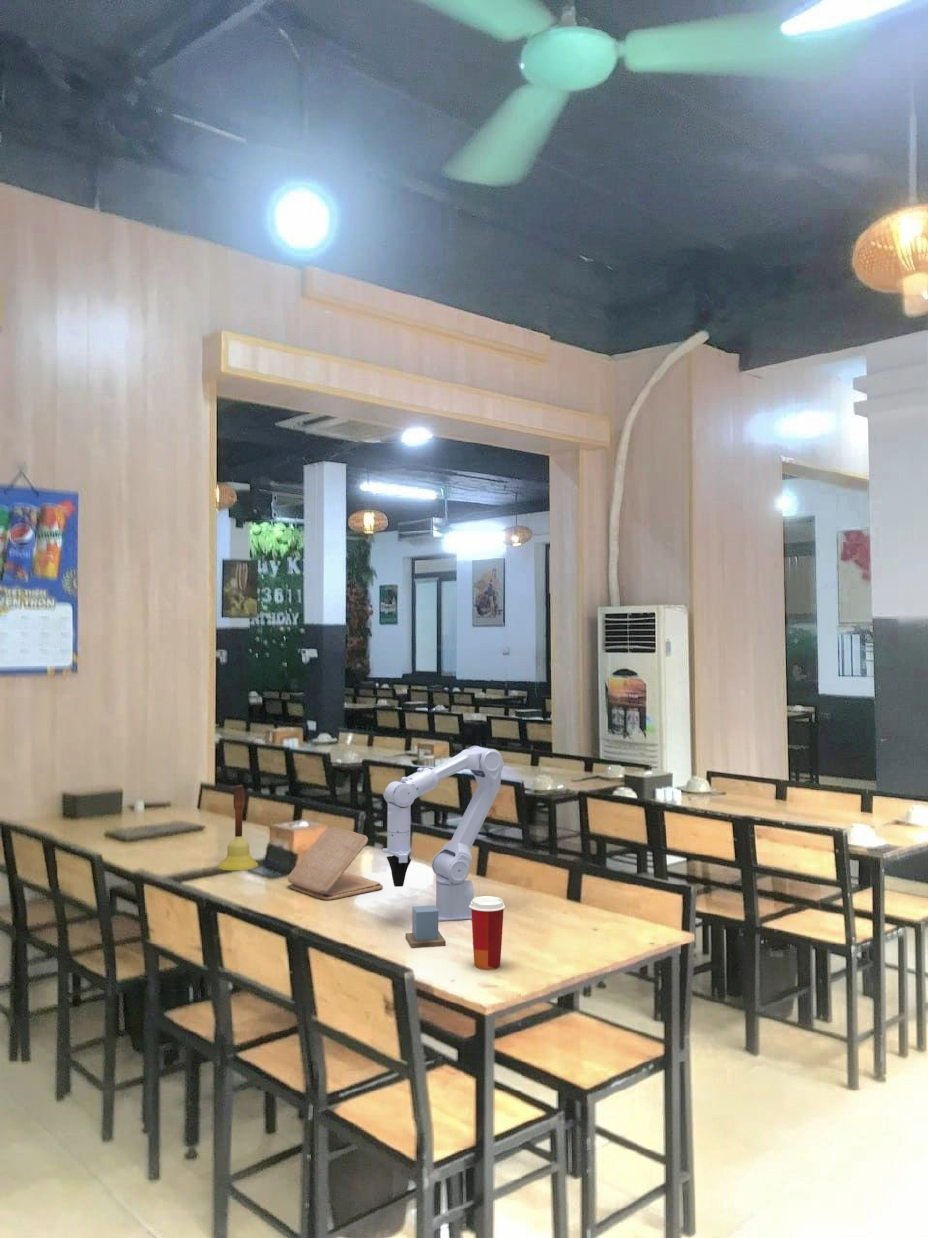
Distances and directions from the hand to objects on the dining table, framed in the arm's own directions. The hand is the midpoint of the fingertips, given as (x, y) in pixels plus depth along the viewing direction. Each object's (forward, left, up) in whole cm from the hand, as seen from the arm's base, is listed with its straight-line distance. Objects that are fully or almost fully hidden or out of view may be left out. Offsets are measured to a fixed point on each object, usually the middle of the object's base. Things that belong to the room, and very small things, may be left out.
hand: (398, 886), depth 238 cm
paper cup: (-14, +34, -10) cm, 38 cm away
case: (+12, -38, -10) cm, 41 cm away
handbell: (+39, -72, -10) cm, 82 cm away
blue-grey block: (-4, +15, -8) cm, 18 cm away
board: (-4, +15, -9) cm, 18 cm away
